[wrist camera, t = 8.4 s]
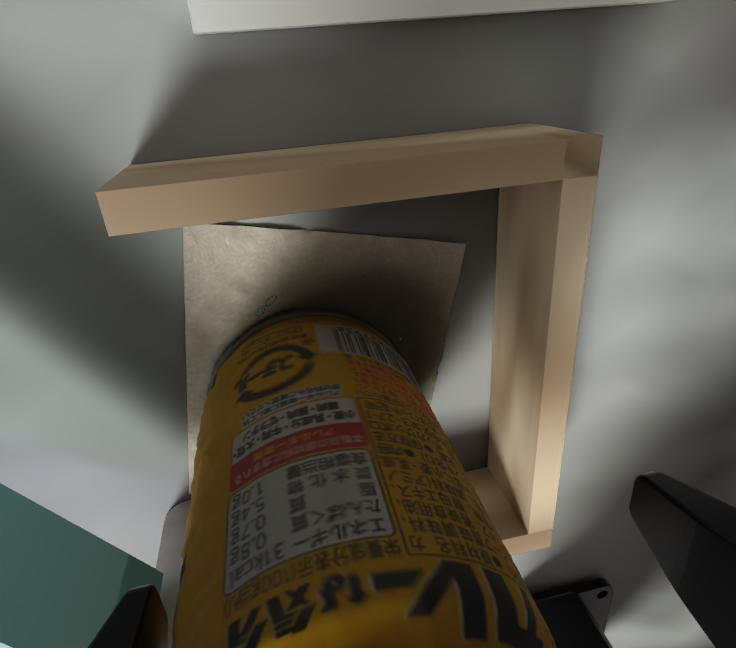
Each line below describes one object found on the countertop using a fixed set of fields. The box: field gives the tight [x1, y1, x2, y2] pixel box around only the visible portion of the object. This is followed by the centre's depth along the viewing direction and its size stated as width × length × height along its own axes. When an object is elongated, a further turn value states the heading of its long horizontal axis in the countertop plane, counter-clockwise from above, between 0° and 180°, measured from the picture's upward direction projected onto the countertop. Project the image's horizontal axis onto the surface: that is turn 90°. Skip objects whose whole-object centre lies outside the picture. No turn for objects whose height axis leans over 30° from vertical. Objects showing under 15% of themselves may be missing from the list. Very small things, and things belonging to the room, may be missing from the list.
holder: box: [95, 123, 603, 648], centre depth 12 cm, size 12×12×6 cm
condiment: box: [171, 224, 556, 648], centre depth 10 cm, size 7×8×12 cm
